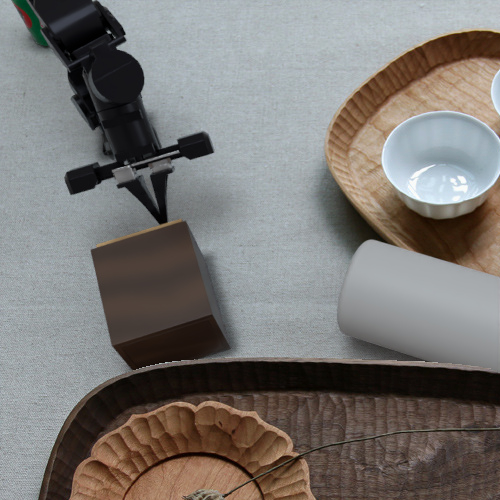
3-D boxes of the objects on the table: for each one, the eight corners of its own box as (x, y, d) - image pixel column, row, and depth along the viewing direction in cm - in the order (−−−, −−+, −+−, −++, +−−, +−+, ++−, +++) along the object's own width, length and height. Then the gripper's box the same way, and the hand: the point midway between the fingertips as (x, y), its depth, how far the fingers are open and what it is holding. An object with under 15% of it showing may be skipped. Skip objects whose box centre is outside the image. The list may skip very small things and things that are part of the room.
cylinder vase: (341, 349, 107) (523, 407, 102) (328, 303, 95) (533, 367, 91) (375, 271, 111) (552, 324, 107) (367, 218, 99) (565, 275, 95)
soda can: (59, 50, 130) (24, -14, 118) (30, 46, 130) (-8, -18, 119) (70, 27, 131) (36, -39, 120) (41, 23, 132) (5, -42, 121)
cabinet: (117, 287, 112) (90, 249, 103) (205, 260, 113) (185, 220, 104) (138, 378, 106) (111, 345, 98) (231, 348, 108) (212, 313, 99)
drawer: (116, 269, 112) (94, 236, 105) (195, 244, 113) (179, 211, 106) (137, 359, 107) (115, 331, 99) (221, 332, 108) (205, 303, 100)
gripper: (194, 86, 110) (232, 199, 116) (58, 125, 108) (105, 237, 114) (190, 85, 100) (233, 209, 106) (41, 128, 98) (93, 251, 104)
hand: (165, 226), depth 108 cm, fingers closed
